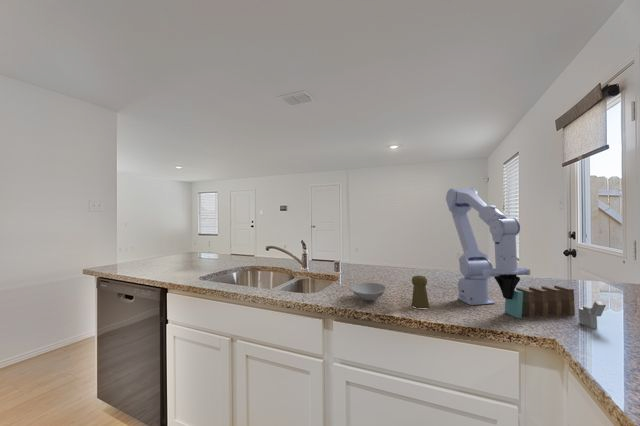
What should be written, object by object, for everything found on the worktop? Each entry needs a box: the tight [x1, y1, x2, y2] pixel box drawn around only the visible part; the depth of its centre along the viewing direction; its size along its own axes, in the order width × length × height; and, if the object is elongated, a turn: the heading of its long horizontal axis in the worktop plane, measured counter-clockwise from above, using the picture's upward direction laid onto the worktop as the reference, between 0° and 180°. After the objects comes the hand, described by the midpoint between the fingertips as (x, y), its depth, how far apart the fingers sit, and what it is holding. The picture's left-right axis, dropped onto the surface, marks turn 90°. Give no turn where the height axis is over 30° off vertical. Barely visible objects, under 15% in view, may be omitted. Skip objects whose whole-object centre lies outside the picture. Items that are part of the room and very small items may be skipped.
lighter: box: [578, 300, 607, 329], centre depth 76 cm, size 7×2×8 cm, turn 172°
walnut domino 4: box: [553, 284, 576, 316], centre depth 88 cm, size 2×5×8 cm, turn 4°
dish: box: [350, 281, 388, 301], centre depth 108 cm, size 18×14×5 cm
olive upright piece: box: [411, 275, 430, 309], centre depth 98 cm, size 6×6×11 cm
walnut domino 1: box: [515, 287, 536, 318], centre depth 87 cm, size 2×5×8 cm, turn 4°
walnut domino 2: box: [528, 286, 549, 318], centre depth 87 cm, size 2×5×8 cm, turn 4°
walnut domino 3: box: [541, 285, 563, 317], centre depth 88 cm, size 2×5×8 cm, turn 4°
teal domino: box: [504, 289, 523, 319], centre depth 87 cm, size 2×5×8 cm, turn 4°
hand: (507, 298), depth 87 cm, fingers closed
